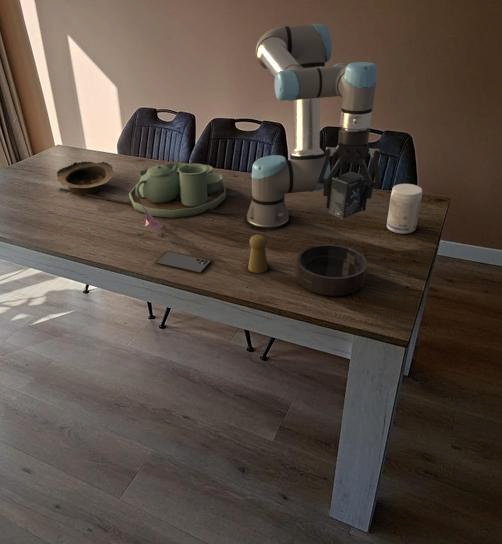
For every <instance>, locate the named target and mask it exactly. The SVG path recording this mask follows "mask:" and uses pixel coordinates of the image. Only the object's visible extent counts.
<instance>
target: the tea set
mask: <svg viewBox="0 0 502 544" xmlns="http://www.w3.org/2000/svg"><path fill="white" fill-rule="evenodd" d="M138 175H139V177H140V179H139V181H138V182H137V183H136V184H135V186H134V187H133V188H132V189H131V190H130V191H129V193H128V195H129V196H128V197H129V199H130V203H132V204H133V205H132V206H133V208H134V210H137V211H139V212H141V213H142V214H145V211H144V209H143V207H144V208H145V209H146V210H147V211H148V213H149V214H151V215H152V217H162V218H181V217H189V216H197V215H200V214H202V213H206V212H205V211H207V210H215V209H216V208H217V207H218V206H220V204H221V203H222V202H223V201H224V200H226V197H227V191H226V185H225V182H223V180H224V176H223V175H222V174H220V173H215V172H214V167H213V166H211V165H209V164H202V163H186V162H172V163H167V164H165V165H161V164H158V165H154V166H151V167H149V168H144V169H142V170H140V171H139V172H138ZM142 206H143V207H142Z"/></svg>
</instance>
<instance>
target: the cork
mask: <svg viewBox="0 0 502 544" xmlns="http://www.w3.org/2000/svg"><path fill="white" fill-rule="evenodd" d="M267 244H268V240H267V238H266V236H264V235H262V234H254V235H252V236H251V237H250V239H249V246H250V254H249V261H248V266H247V269H248V271H250V272H251V273H255V274H262V273H265V272H266V271H268V261H267V254H266V246H267Z"/></svg>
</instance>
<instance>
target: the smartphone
mask: <svg viewBox="0 0 502 544" xmlns="http://www.w3.org/2000/svg"><path fill="white" fill-rule="evenodd" d="M210 263H211V260H209V259H205V258H201V257H196V256H195V257H194V256H190V255H187V254H186V255H185V254H181V253H177V252H170V251H167V252H166V253H165V254H164V255H163V256H162V257H160V258H159V259H157V261H156V264H159V265H162V266H163V265H164V266H168V267H173V268H177V269H180V270H185V271H190V272H194V273H202V272H203V271H204V270H205V269H206V267H207V266H208V265H209V264H210Z"/></svg>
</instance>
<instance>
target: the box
mask: <svg viewBox="0 0 502 544" xmlns="http://www.w3.org/2000/svg"><path fill="white" fill-rule="evenodd" d="M331 183H332V185H331V195H330V204H329V208H328V214H331V215H333V216H335V217H336V218H337V217H338V218H340V219H341V220H343V219H346V218H348V217H351V216H354V215H356V214H358V213H361V212H362V207H363V199H364V192H365V185H367V183H366V180H365V178H364V175H363V174H360V173H357V172H354V171H349V172H346V173H343V174H340V175H337V176H334V177H333V178H332V180H331Z"/></svg>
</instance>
